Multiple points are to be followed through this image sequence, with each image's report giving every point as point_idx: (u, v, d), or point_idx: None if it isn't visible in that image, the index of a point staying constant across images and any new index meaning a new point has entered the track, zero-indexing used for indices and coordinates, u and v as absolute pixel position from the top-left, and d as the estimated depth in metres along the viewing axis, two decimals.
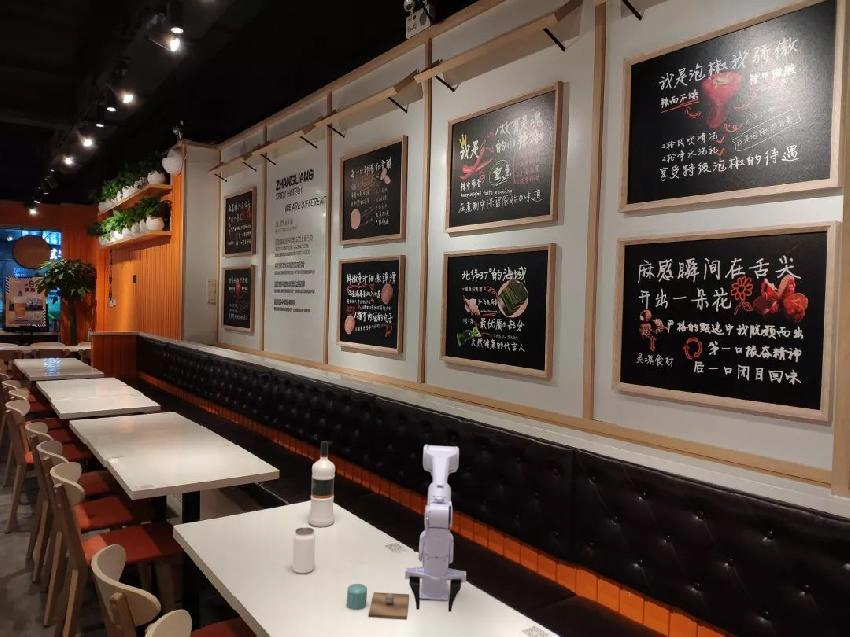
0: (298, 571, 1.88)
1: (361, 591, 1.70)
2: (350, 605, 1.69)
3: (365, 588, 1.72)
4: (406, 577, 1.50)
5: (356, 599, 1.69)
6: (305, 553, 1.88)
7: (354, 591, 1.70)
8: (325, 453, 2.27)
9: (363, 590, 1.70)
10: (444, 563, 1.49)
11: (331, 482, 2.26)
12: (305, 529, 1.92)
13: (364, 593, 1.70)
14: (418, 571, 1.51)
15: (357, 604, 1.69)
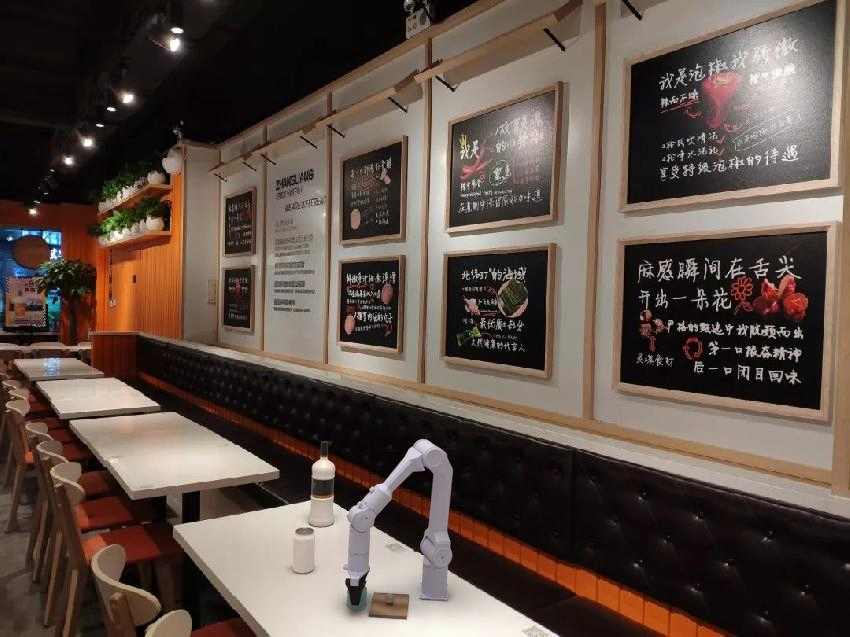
0: (298, 571, 1.88)
1: None
2: (350, 605, 1.69)
3: (365, 588, 1.72)
4: None
5: None
6: (305, 553, 1.88)
7: None
8: (325, 453, 2.27)
9: (363, 590, 1.70)
10: (349, 557, 1.69)
11: (331, 482, 2.26)
12: (305, 529, 1.92)
13: (364, 593, 1.70)
14: None
15: None
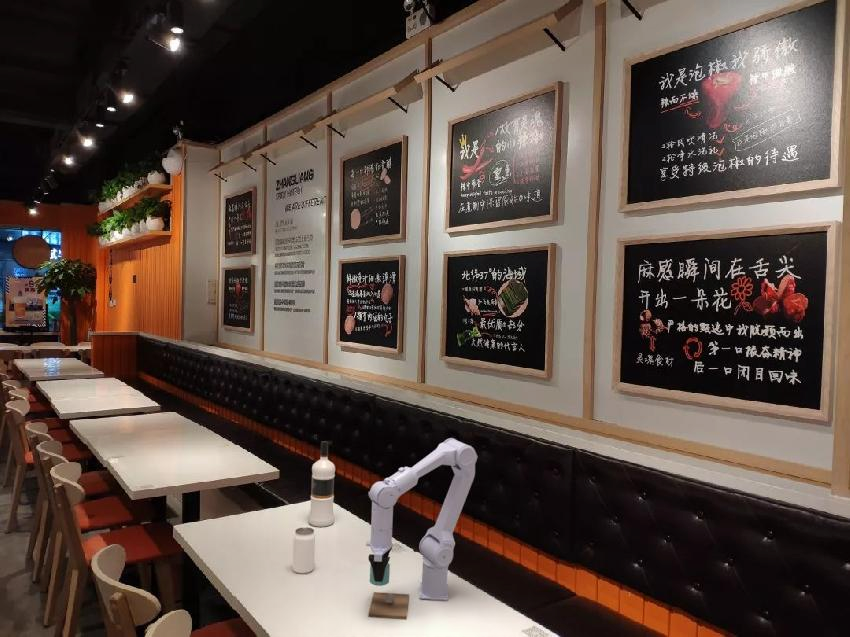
0: (298, 571, 1.88)
1: None
2: (373, 581, 1.69)
3: (388, 565, 1.71)
4: None
5: None
6: (305, 553, 1.88)
7: None
8: (325, 453, 2.27)
9: (386, 566, 1.70)
10: (372, 534, 1.69)
11: (331, 482, 2.26)
12: (305, 529, 1.92)
13: (387, 569, 1.70)
14: None
15: None
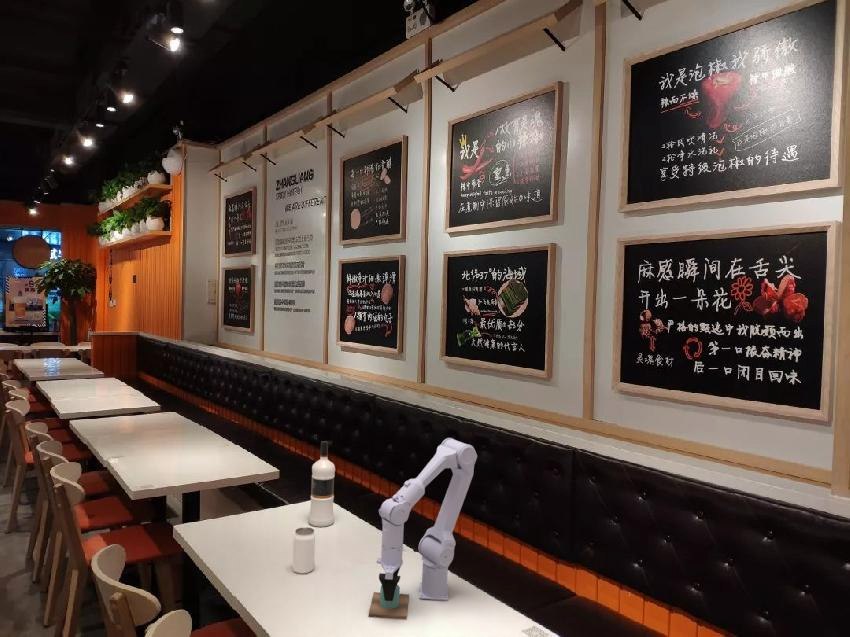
0: (298, 571, 1.88)
1: None
2: (383, 604, 1.69)
3: (398, 587, 1.71)
4: None
5: None
6: (305, 553, 1.88)
7: None
8: (325, 453, 2.27)
9: (396, 589, 1.70)
10: (383, 551, 1.69)
11: (331, 482, 2.26)
12: (305, 529, 1.92)
13: (397, 592, 1.70)
14: None
15: (390, 603, 1.69)
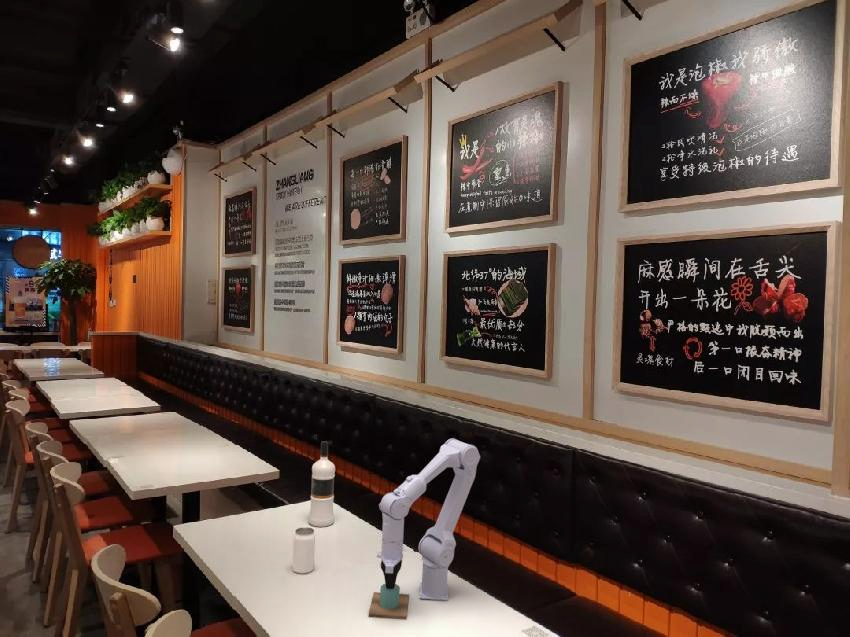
0: (298, 571, 1.88)
1: (394, 590, 1.69)
2: (383, 604, 1.69)
3: (398, 587, 1.71)
4: None
5: (389, 598, 1.69)
6: (305, 553, 1.88)
7: (387, 590, 1.69)
8: (325, 453, 2.27)
9: (396, 589, 1.70)
10: (383, 545, 1.69)
11: (331, 482, 2.26)
12: (305, 529, 1.92)
13: (397, 592, 1.70)
14: None
15: (390, 603, 1.69)
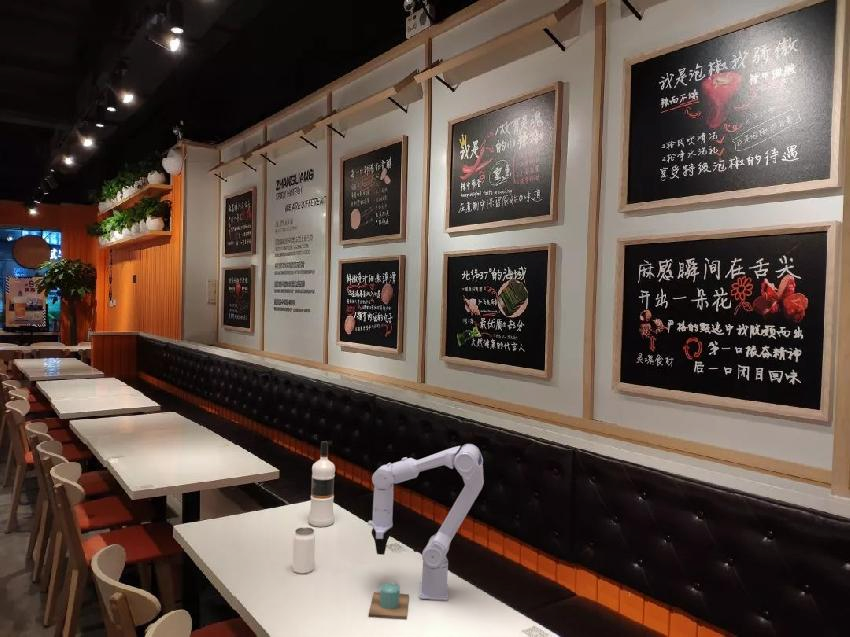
0: (298, 571, 1.88)
1: (394, 590, 1.69)
2: (383, 604, 1.69)
3: (398, 587, 1.71)
4: None
5: (389, 598, 1.69)
6: (305, 553, 1.88)
7: (387, 590, 1.69)
8: (325, 453, 2.27)
9: (396, 589, 1.70)
10: (374, 514, 1.81)
11: (331, 482, 2.26)
12: (305, 529, 1.92)
13: (397, 592, 1.70)
14: None
15: (390, 603, 1.69)
